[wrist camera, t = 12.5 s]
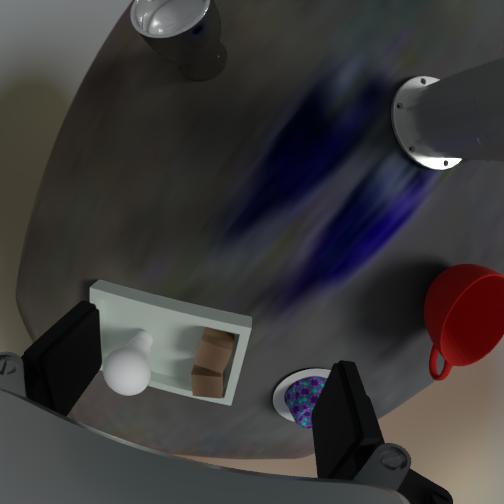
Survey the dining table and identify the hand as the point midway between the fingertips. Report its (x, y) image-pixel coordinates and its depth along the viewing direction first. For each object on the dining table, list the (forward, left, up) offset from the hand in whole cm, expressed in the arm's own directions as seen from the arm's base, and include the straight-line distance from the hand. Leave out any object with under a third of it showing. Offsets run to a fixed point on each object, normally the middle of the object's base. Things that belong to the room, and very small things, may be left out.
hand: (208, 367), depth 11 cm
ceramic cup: (-30, +5, -28) cm, 41 cm away
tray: (+8, +19, -27) cm, 34 cm away
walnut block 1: (+1, +16, -27) cm, 31 cm away
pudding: (-16, +24, -28) cm, 40 cm away
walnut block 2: (+1, +21, -27) cm, 34 cm away
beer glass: (+10, -19, -28) cm, 35 cm away
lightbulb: (+10, +18, -27) cm, 34 cm away
